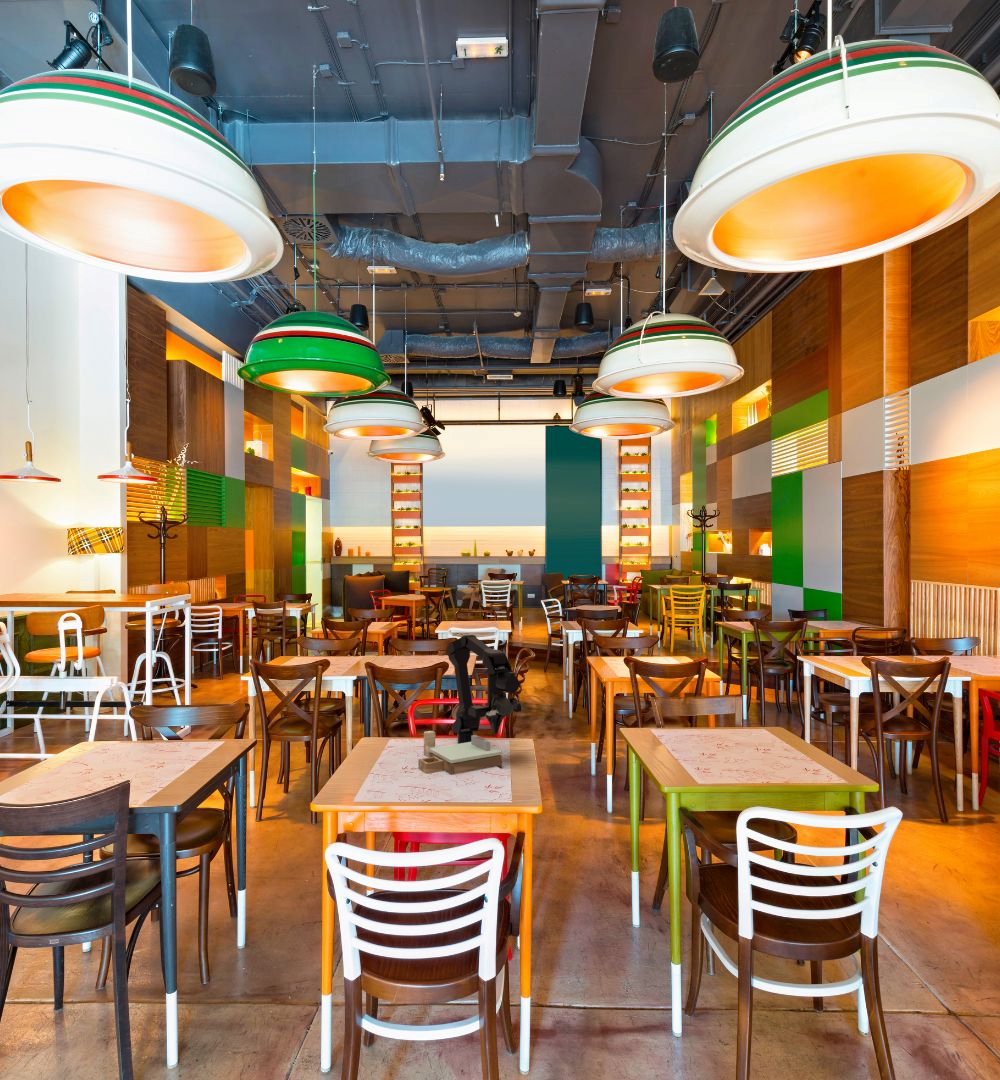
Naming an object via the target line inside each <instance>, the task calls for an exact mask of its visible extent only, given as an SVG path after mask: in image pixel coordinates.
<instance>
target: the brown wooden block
mask: <svg viewBox="0 0 1000 1080" xmlns="http://www.w3.org/2000/svg"><path fill="white" fill-rule="evenodd" d="M435 747H436V732H435V731H433V730H428V731H424V732H423V756H425V758H429V748H435Z"/></svg>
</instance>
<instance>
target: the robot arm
mask: <svg viewBox="0 0 1000 1080" xmlns="http://www.w3.org/2000/svg"><path fill="white" fill-rule="evenodd" d="M471 652H472V653H474V654H475V655H476V656H478V657H479V658H480V659H481V661H482V665H483V666H484V667H485V668H486V670H485V671H484V674H485V675H487V678H486V679H487V683H486V684H487V685H486V686H487V688H486V689H487V690H485V694H486V699H487V702H485V707H484V706H482V705H480V704H479V705H478V704H477V705H475V704H474V703H473V698H472V690H471V685H470V684H471V682H470V676H469V668H468V662H469V660H470V658H471ZM446 653H447V657H448V660H449V661H450V662H451V664H452V665H453V668H454V675H455V681H456V682H455V683H456V690H457V697H458V707H457V710H456V712H455V716H456V717H455V718H456V719H455V720H454V722H453V723H452V725H451V730H452V732H453V733H454V734H457V744H460V743H466V742H471V736H472V735H474V732H478V731H479V727H480V725H481V718H484V717H485V718H486V719H487V722H488V724H489V725H490V729H491V731H492V733H493V734H494V735H498V734H499V730H500V726H501V724H502V722H503V720H504V718H506V717H508V715H511V714H512V713H513V712H514V713H521V712H523V706H522V703H521V702H518V699H517V698H516V697H510V698H508V697H507V693H508V694H514V693H517V691H518V690H519V688H520V684H521V683H520V680H519V678H518V677H517V676H515V672H513V669H512V666H511V664H510V661H509V659H508V656H507V655H506V653H505V652H504V651H503V650H502V651H501V650H500V649H495V648H491V647H490V646H489V645H487V644H486V643H484V642H483V641H482V640H480V639H479V638H478V637H477V636H476V635H474V634H464V635H462V636H461V637H460V638H457V639H455V640H453V641H451V642H449V643H448V645H447V647H446Z"/></svg>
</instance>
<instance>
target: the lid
mask: <svg viewBox="0 0 1000 1080" xmlns="http://www.w3.org/2000/svg"><path fill="white" fill-rule="evenodd" d="M429 752H431V753H433V754H435V755H437V756H438V757H440V758H442V759H444V760H446V761H447V762H449V763H456V762H462V761H468V760H473V759H479V758H485V757H490V756H496V755H502V753H503V752H502V751H501V750H499V749H497V748H495V747H493V746H491V741H490V740H488V739H486V738H484V737H481V736H478V735H476V734H473V735H472V736H471V742H466V743H460V744H458V743H455V744H454V743H453V744H448V745H442V746H435V748H429Z"/></svg>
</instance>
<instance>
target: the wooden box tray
mask: <svg viewBox="0 0 1000 1080" xmlns="http://www.w3.org/2000/svg"><path fill="white" fill-rule="evenodd" d="M502 760H503V756H502V755H496V756H490V757H485V758H479V759H473V760H468V761H462V762H456V763H449V762H447V761H446V760H444V759H442V758H440V757H438V756H437V755H435V754H433V753H431V752H429V757H425V758H419V759H418V760H417V761H418V762H417V763H418V764H417V765H418V768H417V769H418V770H419V771H421V772H423V773H425V774H427V775H428V774H432V773H437V772H443V771H444V772H445V773H448V774H449V775H451V776H452V775H457V774H461V773H462V774H463V773H467V772H473V771H479V770H485V769H489V768H495V767H497V768H499V769H502V767H503V766H502Z"/></svg>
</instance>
